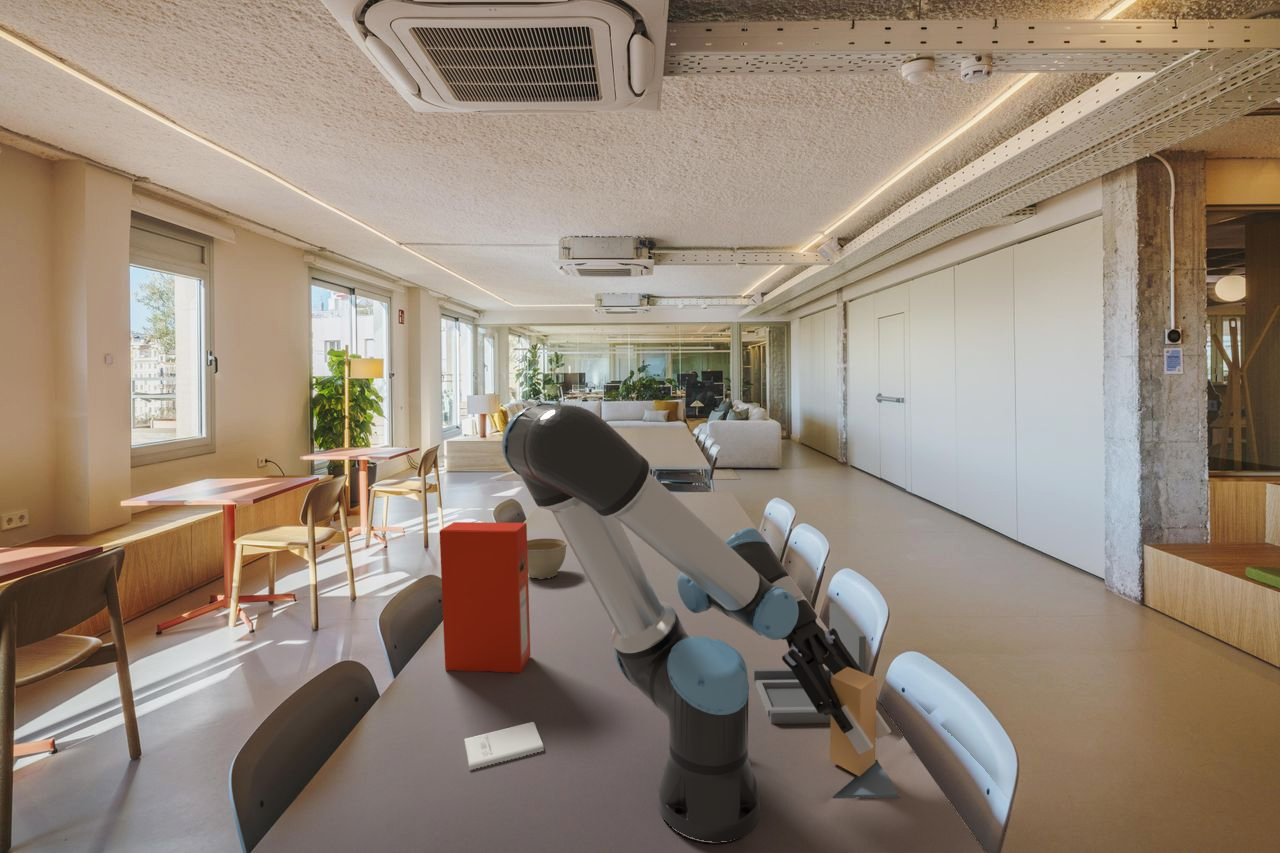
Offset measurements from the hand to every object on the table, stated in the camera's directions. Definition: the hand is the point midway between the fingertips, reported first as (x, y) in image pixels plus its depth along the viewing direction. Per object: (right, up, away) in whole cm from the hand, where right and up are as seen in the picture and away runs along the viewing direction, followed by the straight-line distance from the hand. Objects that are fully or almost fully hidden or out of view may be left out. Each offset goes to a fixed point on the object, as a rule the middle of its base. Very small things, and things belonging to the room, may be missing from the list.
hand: (875, 742), depth 88 cm
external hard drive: (-61, -8, +12) cm, 62 cm away
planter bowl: (-69, -1, +104) cm, 125 cm away
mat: (-2, -7, +3) cm, 8 cm away
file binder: (-71, -6, +42) cm, 83 cm away
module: (-2, -5, +3) cm, 6 cm away
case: (-4, -6, +23) cm, 24 cm away
